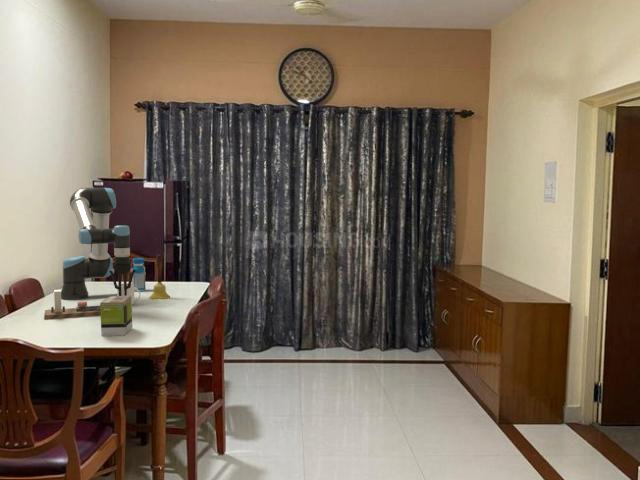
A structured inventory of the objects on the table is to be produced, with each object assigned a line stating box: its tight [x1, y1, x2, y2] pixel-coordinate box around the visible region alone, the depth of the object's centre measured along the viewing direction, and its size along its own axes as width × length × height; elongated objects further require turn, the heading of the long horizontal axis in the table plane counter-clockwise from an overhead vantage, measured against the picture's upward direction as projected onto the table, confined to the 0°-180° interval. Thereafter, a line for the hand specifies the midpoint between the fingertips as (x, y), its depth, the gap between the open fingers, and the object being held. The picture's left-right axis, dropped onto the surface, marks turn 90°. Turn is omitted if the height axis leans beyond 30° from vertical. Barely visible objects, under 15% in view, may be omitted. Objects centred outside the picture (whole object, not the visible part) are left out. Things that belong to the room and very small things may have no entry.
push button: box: [76, 301, 88, 307], centre depth 296 cm, size 4×4×2 cm
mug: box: [116, 283, 141, 305], centre depth 324 cm, size 9×12×11 cm
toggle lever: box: [53, 289, 62, 311], centre depth 290 cm, size 3×1×11 cm, turn 113°
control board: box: [43, 305, 101, 320], centre depth 297 cm, size 36×14×4 cm, turn 113°
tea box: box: [99, 295, 133, 337], centre depth 259 cm, size 15×10×15 cm
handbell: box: [148, 254, 171, 300], centre depth 345 cm, size 12×12×25 cm
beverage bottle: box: [131, 257, 147, 292], centre depth 370 cm, size 8×8×20 cm
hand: (122, 302), depth 304 cm, fingers closed
